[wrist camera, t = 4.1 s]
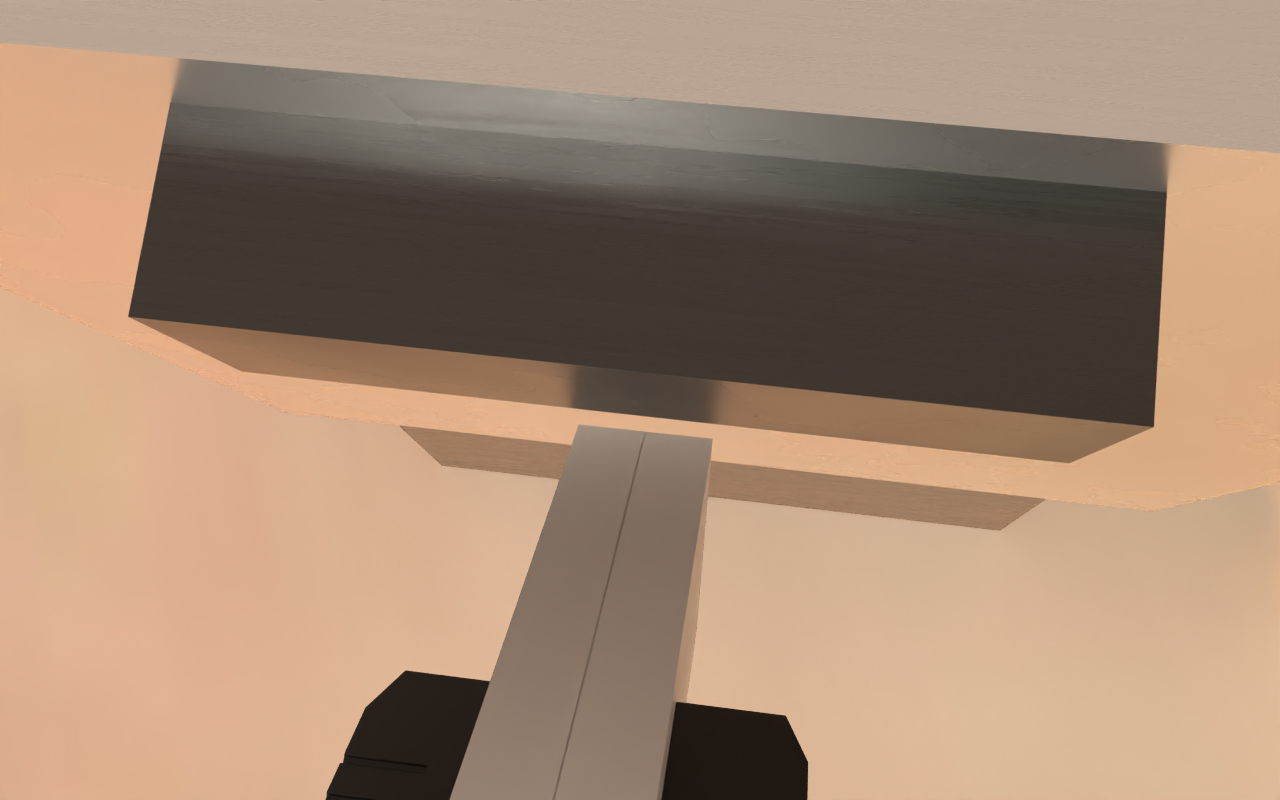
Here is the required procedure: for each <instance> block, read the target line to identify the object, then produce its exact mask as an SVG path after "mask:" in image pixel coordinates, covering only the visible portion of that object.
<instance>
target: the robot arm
mask: <svg viewBox="0 0 1280 800" xmlns="http://www.w3.org/2000/svg"><path fill="white" fill-rule="evenodd" d="M712 442H713V439H710V438H701V437H692V436H682V435H673V434H664V433H654V432H645V431H635V430H626V429H617V428H607V427H598V426H588V425H578V428H577V431H576V433H575V436H574V439H573V442H572V445H571V448H570V451H569V454H568V457H567V460H566V463H565V465H564V468H563V471H562V474H561V477H560V480H559V483H558V486H557V489H556V492H555V494H554V497H553V500H552V503H551V506H550V509H549V512H548V515H547V518H546V521H545V524H544V526H543V529H542V532H541V535H540V538H539V541H538V544H537V547H536V550H535V553H534V556H533V558H532V561H531V564H530V567H529V570H528V573H527V576H526V579H525V582H524V585H523V588H522V590H521V593H520V596H519V599H518V602H517V605H516V608H515V611H514V614H513V617H512V619H511V622H510V625H509V628H508V631H507V634H506V637H505V640H504V643H503V646H502V649H501V651H500V654H499V657H498V660H497V663H496V666H495V669H494V672H493V675H492V678H491V681H483V680H475V679H467V678H460V677H452V676H444V675H436V674H428V673H420V672H413V671H405V672H403V673H402V674H401V675H400V676H399V677H398V678H397V679H396V680H395V681H394V682H393V683H392V684H391V685H389V686H388V687H387V688H386V689H385V690H384V691H383V692H382V693H381V694H380V695H379V696H378V697H377V698H375V699H374V700H373V701H372V702H371V703H370V704H369V705H368V706H367V707H366V708H365V710H364V712H363V714H362V717H361V719H360V721H359V723H358V725H357V727H356V730H355V732H354V734H353V736H352V738H351V741H350V743H349V745H348V747H347V749H346V751H345V754H344V761H343V763H340V764H339V767H338V769H337V771H336V773H335V775H334V778H333V780H332V782H331V784H330V786H329V788H328V791H327V797H326V800H807V792H808V761H807V759H806V757H805V755H804V753H803V751H802V749H801V747H800V744H799V742H798V740H797V738H796V736H795V734H794V732H793V730H792V728H791V726H790V724H789V722H788V719H787V717H786V716H784V715H776V714H768V713H760V712H752V711H745V710H737V709H729V708H721V707H713V706H705V705H697V704H690V703H686V700H687V693H688V686H689V679H690V672H691V665H692V658H693V651H694V644H695V637H696V629H697V618H698V606H699V595H700V583H701V571H702V560H703V548H704V536H705V524H706V513H707V501H708V489H709V477H710V466H711V454H712Z"/></svg>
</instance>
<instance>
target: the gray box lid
mask: <svg viewBox="0 0 1280 800" xmlns="http://www.w3.org/2000/svg"><path fill="white" fill-rule="evenodd" d="M0 287H1V288H3V289H6V290H8V291H10V292H12V293H15V294H17V295H19V296H22V297H24V298H26V299H28V300H31V301H33V302H35V303H38V304H40V305H42V306H44V307H47V308H49V309H51V310H54V311H56V312H58V313H60V314H63V315H65V316H67V317H69V318H72V319H74V320H76V321H79V322H81V323H83V324H85V325H88V326H90V327H92V328H95V329H97V330H99V331H101V332H104V333H106V334H108V335H111V336H113V337H115V338H117V339H120V340H122V341H124V342H127V343H129V344H131V345H133V346H136V347H138V348H140V349H142V350H145V351H147V352H149V353H152V354H154V355H156V356H158V357H161V358H163V359H165V360H168V361H170V362H172V363H174V364H177V365H179V366H181V367H184V368H186V369H188V370H190V371H193V372H195V373H197V374H199V375H202V376H204V377H206V378H209V379H211V380H213V381H215V382H218V383H220V384H222V385H225V386H227V387H229V388H231V389H234V390H236V391H238V392H241V393H243V394H245V395H247V396H250V397H252V398H254V399H256V400H259V401H261V402H263V403H266V404H268V405H270V406H272V407H275V408H277V409H279V410H282V411H284V412H287V413H296V414H305V415H314V416H322V417H331V418H340V419H349V420H358V421H366V422H375V423H384V424H393V425H401V426H410V427H419V428H428V429H437V430H445V431H454V432H463V433H472V434H480V435H489V436H498V437H507V438H516V439H524V440H533V441H542V442H551V443H559V444H568V445H572V442H573V439H574V436H575V433H576V431H577V428H578V425H588V426H598V427H607V428H617V429H626V430H635V431H645V432H654V433H664V434H673V435H682V436H692V437H701V438H710V439H713V442H712V454H711V461H717V462H726V463H735V464H744V465H753V466H761V467H770V468H779V469H788V470H796V471H805V472H814V473H823V474H832V475H840V476H849V477H858V478H867V479H875V480H884V481H893V482H902V483H911V484H919V485H928V486H937V487H946V488H954V489H963V490H972V491H981V492H990V493H998V494H1007V495H1016V496H1025V497H1033V498H1042V499H1051V500H1060V501H1069V502H1077V503H1086V504H1095V505H1104V506H1112V507H1121V508H1130V509H1139V510H1148V511H1157V510H1161V509H1166V508H1170V507H1175V506H1179V505H1183V504H1188V503H1192V502H1196V501H1201V500H1205V499H1210V498H1214V497H1218V496H1223V495H1227V494H1231V493H1236V492H1240V491H1245V490H1249V489H1253V488H1258V487H1262V486H1266V485H1271V484H1275V483H1280V0H0Z"/></svg>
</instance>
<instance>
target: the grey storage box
mask: <svg viewBox="0 0 1280 800" xmlns="http://www.w3.org/2000/svg"><path fill="white" fill-rule="evenodd" d="M399 426H400V427H401V428H402V429H403V430H404V431H405V432H406V433H407V434H408V435H410V436H411V437H412V438H413V439H414V440H415V441H416V442H417V443H418V444H419V445H420V446H421V447H423V448H424V449H425V450H426V451H427V452H428V453H429V454H430V455H431V456H432V457H433V458H434V459H435V460H437V461H438V462H439V463H440V464H441V465H444V466H452V467H461V468H469V469H478V470H486V471H495V472H504V473H512V474H521V475H529V476H538V477H546V478H555V479H560V477H561V474H562V471H563V468H564V465H565V463H566V460H567V457H568V454H569V451H570V448H571V445H568V444H559V443H551V442H542V441H533V440H524V439H516V438H507V437H498V436H489V435H480V434H472V433H463V432H454V431H445V430H437V429H428V428H419V427H410V426H401V425H399ZM708 496H709V497H718V498H726V499H735V500H744V501H752V502H761V503H769V504H778V505H786V506H795V507H803V508H812V509H821V510H829V511H838V512H846V513H855V514H863V515H872V516H881V517H889V518H898V519H906V520H915V521H923V522H932V523H941V524H949V525H958V526H966V527H975V528H983V529H992V530H1001V529H1003V528H1004V527H1006V526H1007V525H1008V524H1010V523H1011V522H1013V521H1014V520H1016V519H1017V518H1019V517H1020V516H1022V515H1023V514H1025V513H1026V512H1028V511H1029V510H1031V509H1032V508H1033V507H1035V506H1036V505H1038V504H1039V503H1041V502H1042V501H1044V500H1045V499H1042V498H1033V497H1025V496H1016V495H1007V494H998V493H990V492H981V491H972V490H963V489H954V488H946V487H937V486H928V485H919V484H911V483H902V482H893V481H884V480H875V479H867V478H858V477H849V476H840V475H832V474H823V473H814V472H805V471H796V470H788V469H779V468H770V467H761V466H753V465H744V464H735V463H726V462H717V461H711V466H710V477H709V489H708Z"/></svg>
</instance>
